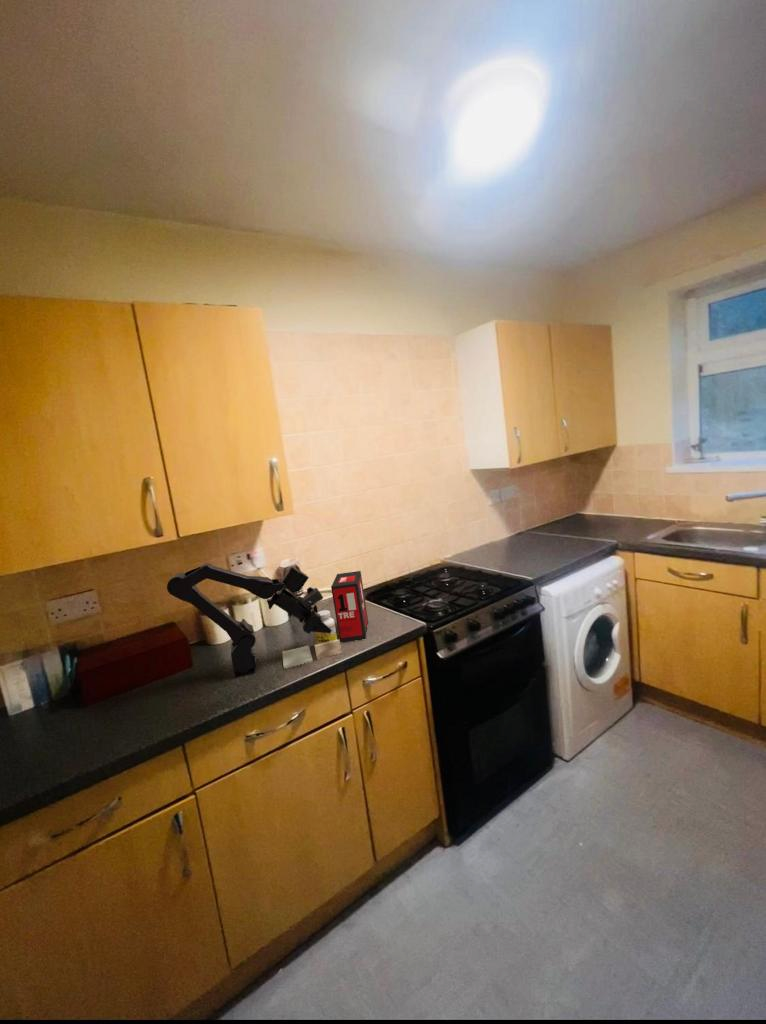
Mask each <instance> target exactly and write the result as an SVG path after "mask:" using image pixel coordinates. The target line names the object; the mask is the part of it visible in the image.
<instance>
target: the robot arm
mask: <svg viewBox="0 0 766 1024" xmlns="http://www.w3.org/2000/svg"><path fill="white" fill-rule="evenodd" d="M309 578H310V577H309V576H308V575H307V574H305V573H304V572H303V571H301V570H300V569H297V568H295V567H294V566H290V567H289V569H288V570H287V572H286V573H285V575H284V576H283V578H274V579H272V578H270V577H268V576H267V577H266V576H260V575H259V576H258V575H247V574H246V575H245V574H243V573H239V572H235V571H232V570H228V569H225V568H222V567H219V566H214V565H212V564H210V563H203V564H202V565H200V566H198V567H195V568H192V569H190V570H187V571H186V572H178V573H175V574H173V575H172V576H171V577H170V578H169V580H168V582H167V584H166V589H167V590H166V591H167V592H168V593H169V595H171V596H173V597H175V598H176V599H178V600H180V601H182V602H185V603H188V604H190V605H192V606H193V607H195V608H196V609H197V610H198V611H200V612H201V613H202V614H203V615H204V616H205V617H207V618H208V619H209V620H211V621H212V622H213V623H215V624H216V626H218V627H219V628H221V629H222V630H223V631H225V633H227V635H228V637H229V638H230V640H231V641H232V642H231V644H230V655H231V656H230V658H231V664H232V670H233V678H238V677H243V676H246V675H250V674H253V673H256V669H257V667H258V664H257V658H256V653H255V652H254V651H253V648H254V646H255V644H256V634H255V630H254V627H253V624H250V623H249V622H247V621H246V619H244V618H242V619H241V621H240V620H236V619H234V618H233V617H232V616H230V614H228V613H227V612H226V611H225V610H223V609H222V607H220V606H219V605H218V604H217V603H215V602H213V601H212V600H211V599H210V598H209V597H207V596H206V595H205V594H204V593H202V592H201V591H200V590H199V588H198V586H197V585H198V584H199V583H202V582H203V581H205V580H211V581H214V582H218V583H221V584H225V585H229V586H233V587H236V588H238V589H239V588H240V589H243V590H246V591H247V592H249V593H251V594H252V595H254V596H256V597H257V598H260V599H264V600H266V602H267V605H268V609H269V610H271V609H272V608H273V606H274V605H275V606H276V607H278V608H279V609H282V610H283V611H285V613H287V614H288V616H289V617H294V618H296V619H297V620H298V622H299V623H301V625H302V630H303V632H304V633H306V634H308V635H309V634H311V633H313V632H314V633H316V632H323V633H331V631H332V630H331V629H330V628H329V627H328V626H327V625H326V624H325V623H323V622H322V621H321V616H320V614H318V613H317V612H319V611H318V606H317V603H318V602H321V601H322V600H323V599H324V597H323V594H322V593H321V592H320V590H319V589H318V587H312V586H308V588H307V589H306V593H305V595H304V596H300V595H297V596H296V595H295V593H297V592H298V593H299V592H300V591H301V590H302V588H303V587H304V586H305V584H306V582H308V580H309Z"/></svg>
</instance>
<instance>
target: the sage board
mask: <svg viewBox="0 0 766 1024" xmlns="http://www.w3.org/2000/svg"><path fill="white" fill-rule="evenodd" d="M281 652H282V653H281V655H282V662H283V663H282V664H283V665H282V666H283V669H284V670H286V669H289V667H290V668H294V667H298V666H301V665H300V664H302V665H305V664H304V663H306V664H308V663H307V662H310V663H312V662H311V661H313V657H312V652H311V648H310V645H304V646H300V647H297V648H292V649H289V650H283V651H281ZM313 662H314V661H313ZM297 665H298V666H297ZM293 666H294V667H293ZM285 668H286V669H285Z"/></svg>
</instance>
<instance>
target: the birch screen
mask: <svg viewBox="0 0 766 1024" xmlns="http://www.w3.org/2000/svg"><path fill="white" fill-rule="evenodd" d="M314 649H315V650H314V651H315V655H316V659H318V660H321V659H320V658H322V659H326V658H330V657H329V656H331V657H334V656H333V655H335V656H337V655H336V654H339V655H341V654H340V653H342V647H341V643H340V639H339V638H337V640H333V641H329V642H325V643H321V644H314ZM325 657H326V658H325Z"/></svg>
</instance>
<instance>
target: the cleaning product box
mask: <svg viewBox="0 0 766 1024" xmlns="http://www.w3.org/2000/svg"><path fill="white" fill-rule="evenodd" d="M362 577H363V576H362V572H361V570H357V571H350V572H349V571H348V572H341V573H337V574H336V575H335V578H334V580H333V582H332V584H331V587H330V588H331V594H332V599H333V607H334V612H335V613H334V614H335V620H336V625H337V632H338V639H339V640H340V642H343V643H349V642H348V641H351V642H356V641H355V640H358V641H363V640H362V639H367V634H366V632H367V633H368V627H367V625H368V626H369V618H368V611H367V605H366V597H365V592H364V591H365V590H364V584H363V583H364V582H363V578H362Z"/></svg>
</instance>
